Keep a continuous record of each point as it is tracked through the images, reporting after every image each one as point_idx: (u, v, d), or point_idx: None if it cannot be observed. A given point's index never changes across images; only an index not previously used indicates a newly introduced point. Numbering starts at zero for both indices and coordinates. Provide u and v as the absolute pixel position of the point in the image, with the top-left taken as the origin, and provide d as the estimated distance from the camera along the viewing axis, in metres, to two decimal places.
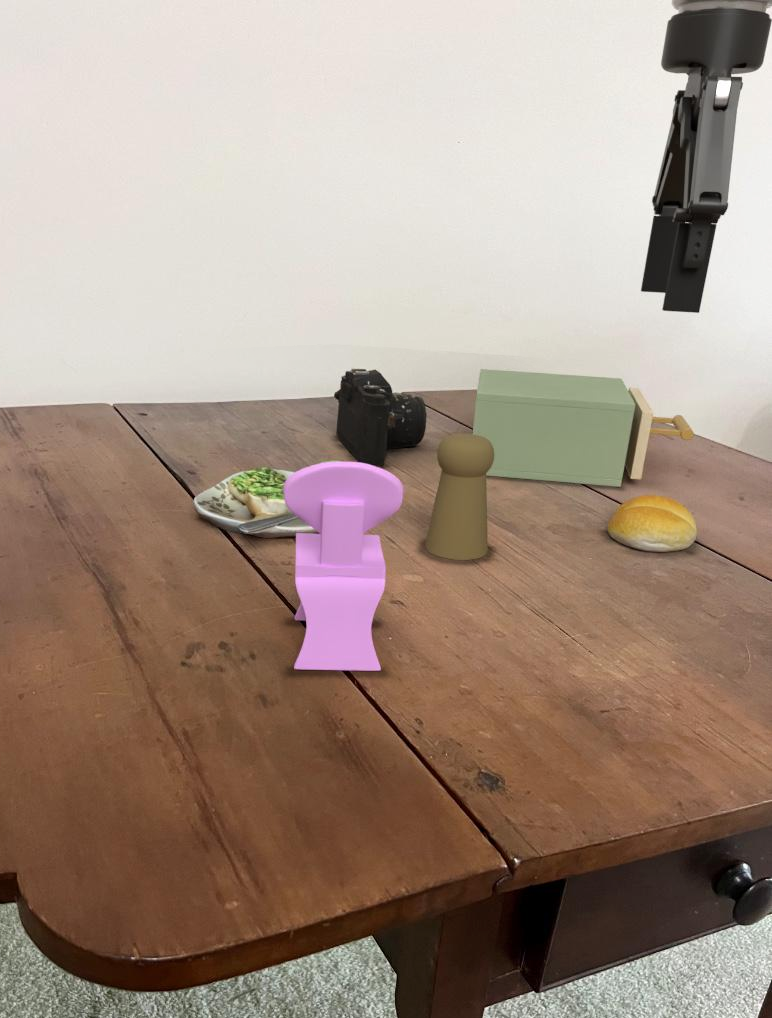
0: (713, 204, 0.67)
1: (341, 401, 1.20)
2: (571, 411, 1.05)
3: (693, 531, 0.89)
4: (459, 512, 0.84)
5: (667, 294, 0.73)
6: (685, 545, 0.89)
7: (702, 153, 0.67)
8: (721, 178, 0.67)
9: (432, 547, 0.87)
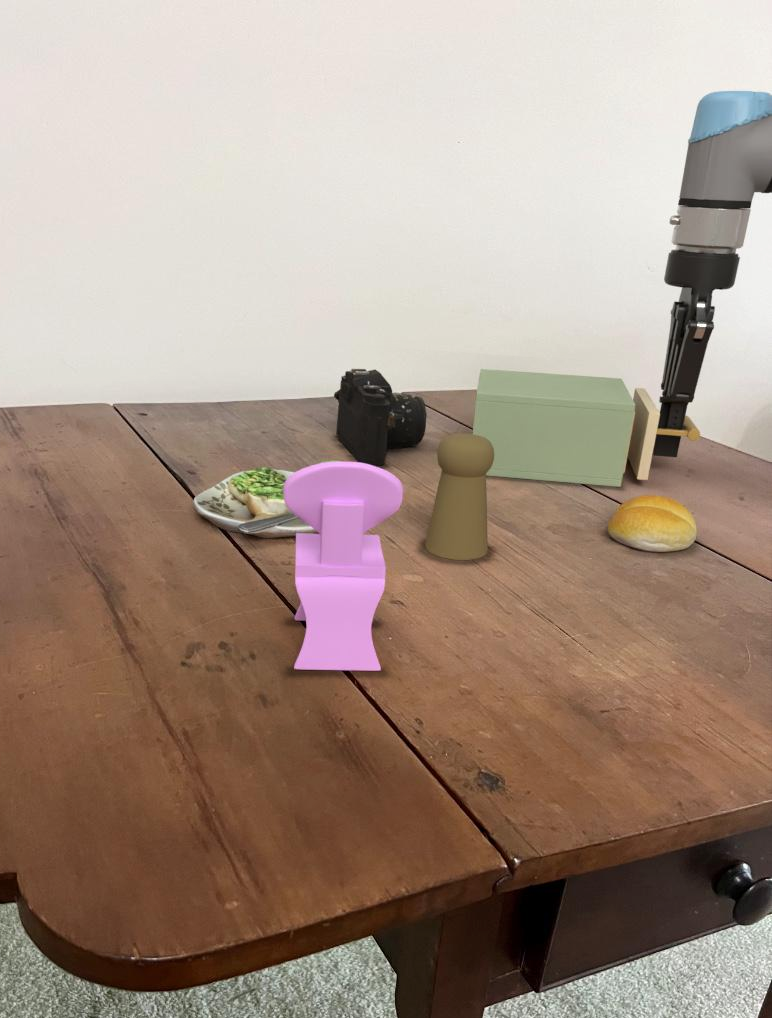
0: (684, 400, 1.06)
1: (341, 401, 1.20)
2: (571, 411, 1.05)
3: (693, 531, 0.89)
4: (459, 512, 0.84)
5: (656, 445, 1.11)
6: (685, 545, 0.89)
7: (681, 369, 1.04)
8: (691, 384, 1.05)
9: (432, 547, 0.87)
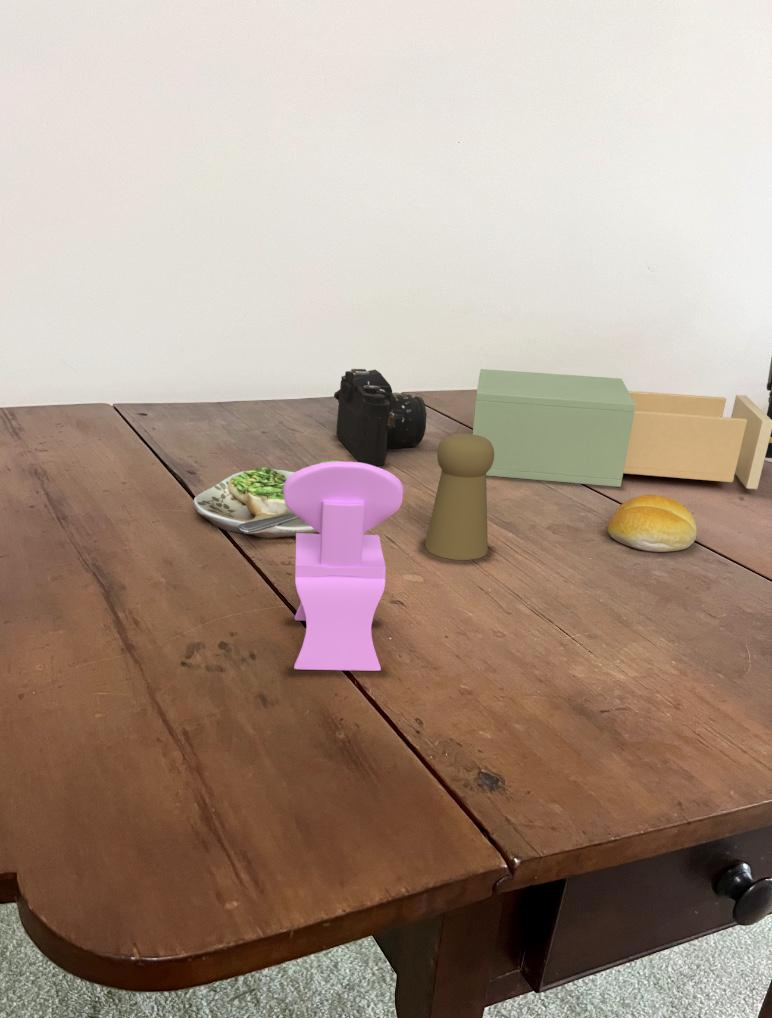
0: None
1: (341, 401, 1.20)
2: (571, 411, 1.05)
3: (693, 531, 0.89)
4: (459, 512, 0.84)
5: None
6: (685, 545, 0.89)
7: None
8: None
9: (432, 547, 0.87)
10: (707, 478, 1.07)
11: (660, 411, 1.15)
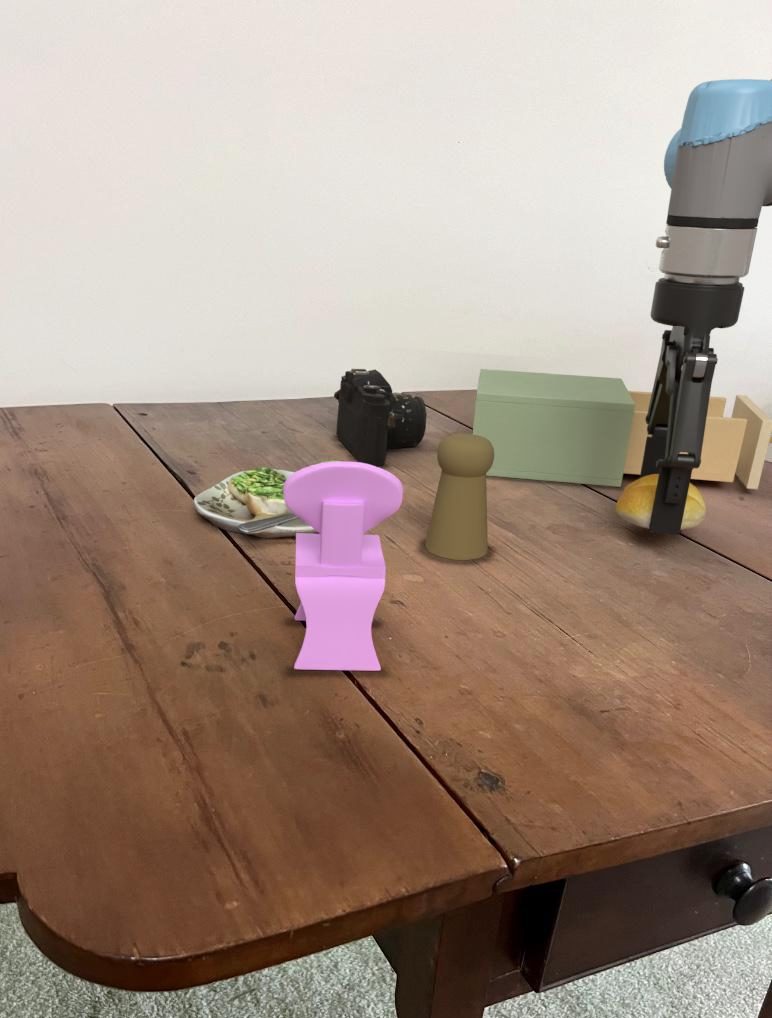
0: (688, 463, 0.81)
1: (341, 401, 1.20)
2: (571, 411, 1.05)
3: (702, 509, 0.89)
4: (459, 512, 0.84)
5: (652, 520, 0.87)
6: (694, 523, 0.88)
7: (681, 419, 0.80)
8: (696, 441, 0.81)
9: (432, 547, 0.87)
10: (707, 478, 1.07)
11: None
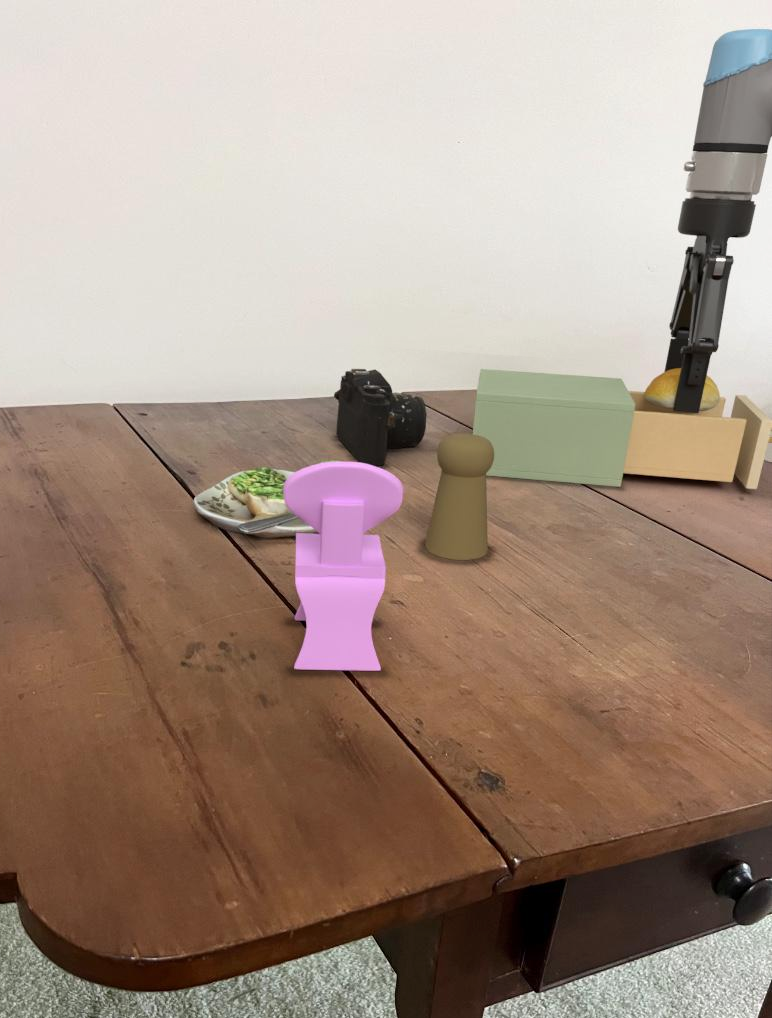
0: (708, 347, 0.99)
1: (341, 401, 1.20)
2: (571, 411, 1.05)
3: (717, 394, 1.06)
4: (459, 512, 0.84)
5: (676, 400, 1.05)
6: (710, 405, 1.06)
7: (702, 310, 0.98)
8: (714, 328, 0.98)
9: (432, 547, 0.87)
10: (707, 478, 1.07)
11: (660, 411, 1.15)
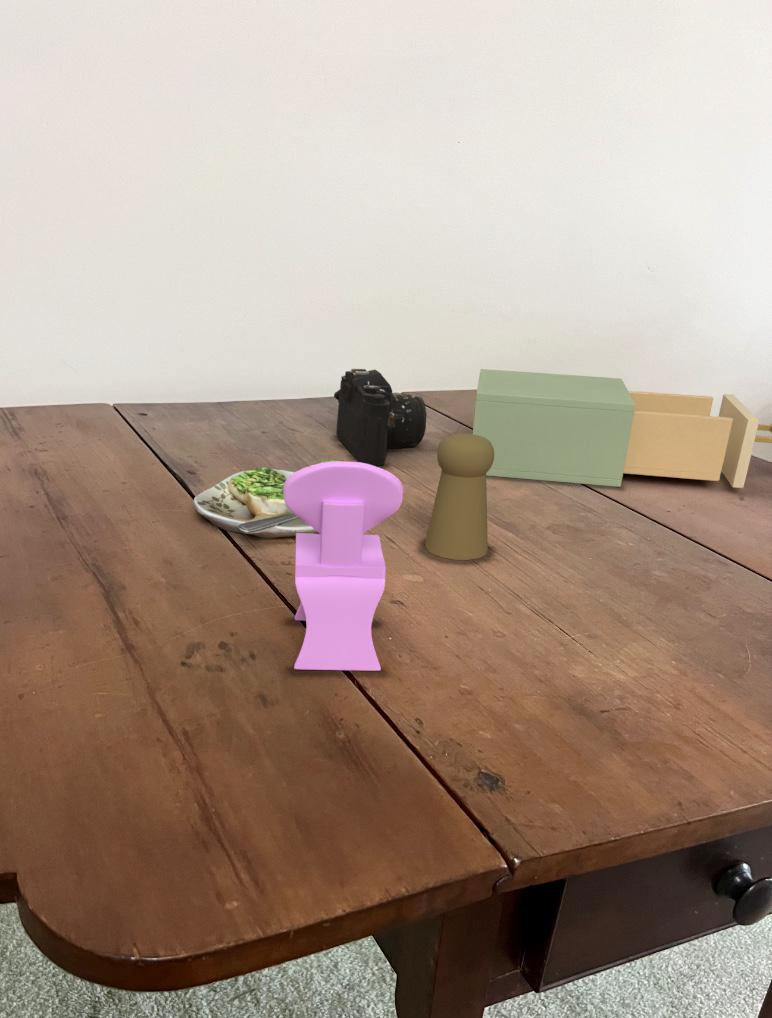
0: None
1: (341, 401, 1.20)
2: (571, 411, 1.05)
3: None
4: (459, 512, 0.84)
5: None
6: None
7: None
8: None
9: (432, 547, 0.87)
10: (693, 477, 1.07)
11: (648, 410, 1.16)
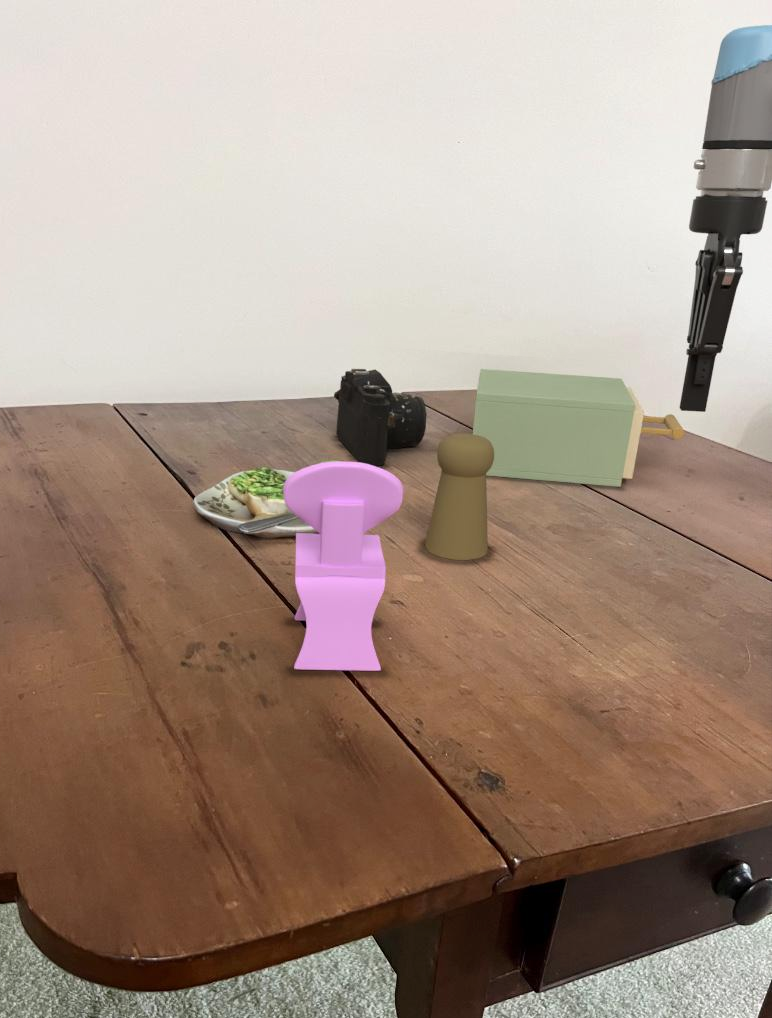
0: (712, 350, 1.03)
1: (341, 401, 1.20)
2: (571, 411, 1.05)
3: None
4: (459, 512, 0.84)
5: (683, 400, 1.09)
6: None
7: (709, 318, 1.01)
8: (719, 334, 1.02)
9: (432, 547, 0.87)
10: None
11: None
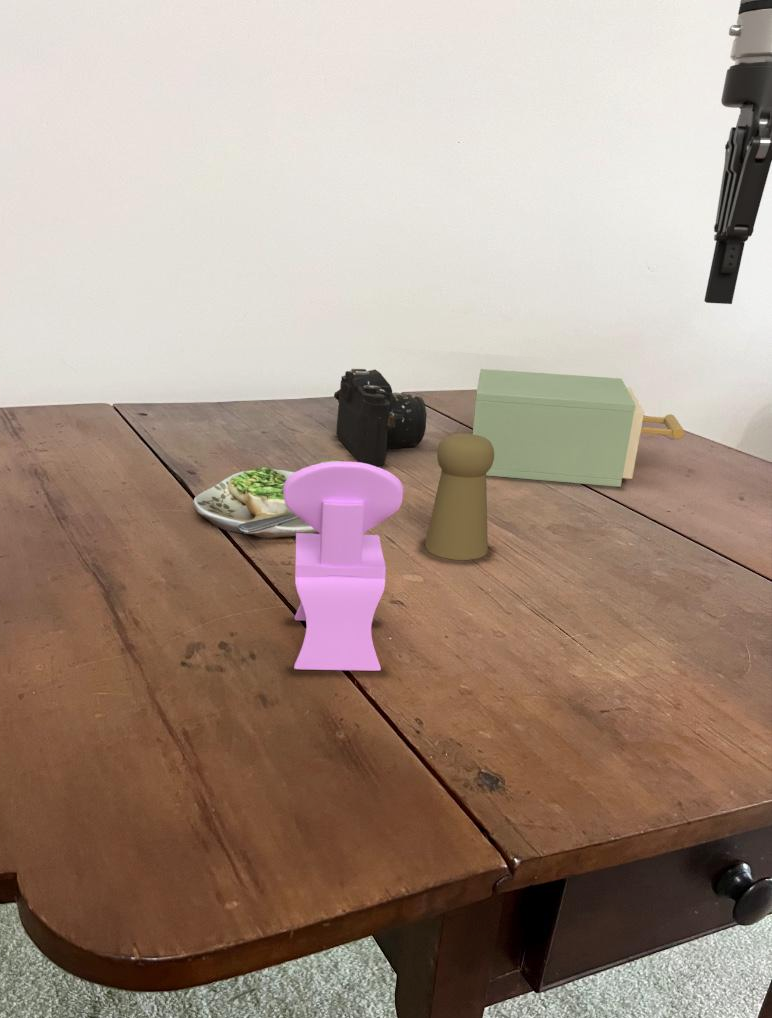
0: (742, 233, 0.98)
1: (341, 401, 1.20)
2: (571, 411, 1.05)
3: None
4: (459, 512, 0.84)
5: (709, 291, 1.03)
6: None
7: (740, 196, 0.96)
8: (751, 214, 0.97)
9: (432, 547, 0.87)
10: None
11: None
